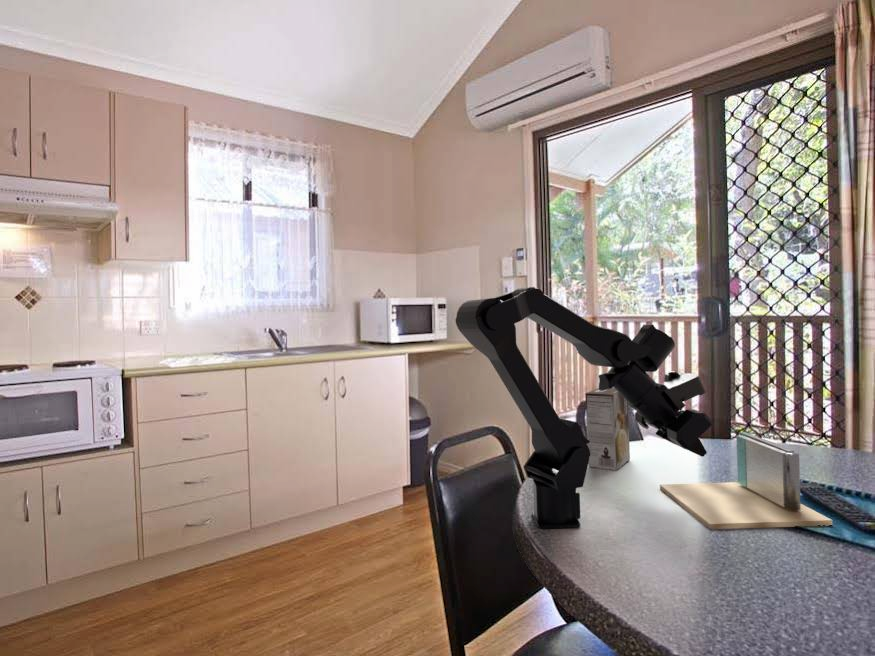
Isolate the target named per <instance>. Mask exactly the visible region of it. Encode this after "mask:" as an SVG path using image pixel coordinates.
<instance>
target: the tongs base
mask: <svg viewBox="0 0 875 656" xmlns="http://www.w3.org/2000/svg"><path fill="white" fill-rule="evenodd" d="M739 435H743V436H746V437H748V438H751V439H753V440H756V441H758V442H761V443H763V444H766V445H769V446H771V447H774V448H777V449H779V450H782V451H785V452H794V453H795V450H793V449H790V448H788V447H785V446H782V445H780V444H777V443H774V442H772V441H770V440H767V439H764V438H762V437H759V436H756V435H754V434H751V433H748V432H747V431H740V432H739ZM659 490H660V491H662V492H663V493H664V494H666V495H667V496H668V497H669V498H671V499H672V500H673V501H674V502H675V503H676V504H678V505H680V506H681V507H682V508H683V509H685V511H687V512H688V513H690V514H691V515H692V516H693V517H694V518H696V520H698V521H699V522H701V523H702V524H703V525H704V526H705V527H707V528H708V529H709V530H725V529H726V530H729V529H731V530H732V529H733V530H734V529H764V528H765V529H767V528H794V527H795V526H801V527H825V526H826V527H828V526H829V525H833V524H834V523H833V519H831V518H829V517H827V516H825V515H824V514H822V513H820V512H818V511H816V510H814V509H812V508H810V507H808V506H806V505H804V504H803V503H801V510H791V509H788V508H787V507H782V506H780V505H779V504H777V503H775V502H773V501H771V500H769V499H768V498H766V497H764V496H762V495H760V494H758V493H756V492H755V491H753V490H751V489H749V488H747V487H745V486H743V485H741V484H739V483H738V481H734V482H733V481H729V482H701V483H699V482H698V483H673V484H671V483H670V484H659ZM814 525H815V526H814ZM818 525H820V526H818ZM823 525H825V526H823ZM829 527H830V526H829ZM795 528H796V527H795Z"/></svg>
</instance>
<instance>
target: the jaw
mask: <svg viewBox="0 0 875 656" xmlns="http://www.w3.org/2000/svg"><path fill="white" fill-rule="evenodd" d="M736 463H737V465H736V466H737V467H736V468H737V482H738V483H739V484H741V485H743V486H745V487H747V488H749V489H751V490H753V491H755V492H756V493H758V494H760V495H762V496H764V497H766V498H768V499H769V500H771V501H773V502H775V503H777V504H779V505H780V506H782V507H787V508H788V509H791V510H801V504H802V503H801V477H800V476H801V475H800V454H799V453H798V452H795V451H794V452H785V451H782V450H779V449H777V448H774V447H771V446H769V445H766V444H763V443H761V442H758V441H756V440H753V439H751V438H748V437H746V436H743V435H740V434H739V435H736Z"/></svg>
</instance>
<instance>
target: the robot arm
mask: <svg viewBox="0 0 875 656" xmlns="http://www.w3.org/2000/svg"><path fill="white" fill-rule="evenodd" d="M526 318H528V319H529V320H531V321H533V322H534V323H535V324H538V325H540V326H541V327H543V328H544V329H546V330H548V331H550V332H552V333H553V334H555V335H556V336H558V337H560V338H561V339H563V340H564V341H567V342H568V343H571V345H572V346H573V347H575V349H576V351H577V353H578V354H579V356H581V357H582V358H583V359H584V360H585V361H586V362H588V364H590V365H591V366H595V367H596V366H597V367H607V368H610V369H609V370H608V371H607V372H605V373H604V372H603V373H600V374H599V375H598V379H599V381H598V388H599V390H600V391H602V390H607V389H611V388H615V389H616V390H617V391H618V392H619V393H620V394H621V395H622V396H623V397H624V398H625V399H626V400H627V401H628V407H630V408H631V409H632V410H635V413H634V421H636V422H637V424H639V426H641V427H642V428H643V429H646V430H648V429H649V428H650V426H651V427H653V428H655V429H656V432H655V435H656V436H658V437H660V438H662V439H664V440H666V441H667V442H669V443H671V444H673V445H675V446H678V447H680V448H681V449H684V450H687V451H688V452H691V453H693V454H695V455H697V456H700V457H704V456H706V455H707V453H708V452H707V450H706V448H705V446H704V445H703V443H702V441H701V439H700V438H701V436H702V435H703V434H704V433H706V432H707V430H709V429H710V428H711V426H713V423H714V421H713V419H711V418H710V416H708V414H707V413H705V412H703V411H699V410H697V409H692V408H689V409H685V410H683V409H684V408H685V407H686V406H687V405H686V404H685V402H686V401H689V400H691V399H693V398H695V397H697V396H703V395H705V394H706V389H705V387H704V384H703V383H702V380H701V378H700V376H699V374H695V373H690V372H689V373H684V372H683V373H681V374H679V373H678V372H677V371H674V370H671V371H668V372H666V373H664V378H663V379H664V381H663V382H662V383H658V382H656V381H655V380H654V379H653V378H652V376H650V375H649V374H648V372H649V373H653V372H657V371H658V370H659V368H661V366H662V364H663V363H664V362H665V361H666V359H667V358H668V356H670V354H671V352H673V350H674V349H675V347H676V343H675V341H674V339H673V337H671V336H669V335H668V334H667V333H666V332H664V331H662V330H660V329H658V328H656V327H655V325H654V324H643V325H642V326H641V328H640V329H639V330H638V333H637V334H636V335H635V336H634V337H633V339H631V337H630V336H629V335H628V334H626V333H624V332H620V331H617V330H616V329H612V328H608V327H604V326H600V325H596V324H593V323H592V322H590V321H588V320H586V319H585V318H584V317H582V316H581V315H578V313H575V312H573V311H572V310H570V309H569V308H567V307H566V306H564V305H562V304H561V303H560V302H558V301H556V300H554V299H553V298H551V297H550V296H549V295H546V294H545V293H544V291H542V290H541V289H540V288H538V287H535V286H530V287H524V288H523V287H521V288H516V289H515V290H513V291H511V292H509V293H506V294H503V295H500V296H495V297H491V298H480V299H471V300H467V301H465V302H463V303H462V304H461V305H460V307H459V308H458V310H457V312H456V318H455V319H454V320H455V324H456V327H457V329H458V331H459V332H460V333H461V335H462V336H463V337H464V338H465V339H466V340H467V341H468V343H469V344H470V345H472V347H474V348H476V349H475V350H478V351H479V352H480V353H481V354H483V355H484V356H485V357H486V358H487V359H488V361H489V362H490V363H491V365H492V366H493V368H494V370H495V372H496V373H497V374H498V376H499V378H500V380H501V382H502V383H503V385H504V386H505V388H506V389H507V391H508V393H509V395H510V396H511V398H512V400H513V401H514V403H515V405H516V406H517V408H518V410H519V411H520V412H521V415H522V416H523V418H524V419H525V421H526V422H527V424H528V426H529V428H530V429H531V444H532V447H533V449H534V451H533V452H532V454H531V455H530V457H529V458H528V459H527V461H526V462H525V464H524V465H523V470H524V474H525V475H526V478H528V479H532V488H533V491H532V492H533V509H532V510H531V514H532V516H533V518H534V521H535V523H536V525H537V528H539V529H559V528H561V529H562V528H565V529H566V528H580V527H581V522H580V521H579V519H581V500H580V499H581V498H580V497H581V496H580V492H579V491H578V490H577V489H580V488H583V487H584V484H585V479H586V475H587V470H588V467H589V466H588V463H589V457H590V455H591V454H590V449H589V447H588V444H587V443H590V441H589V440H588V439H587V437H586V436H585V434H584V433H583V430H582V427H581V426H580V424H579V423H578V422H577V421H573V420H569V419H565V418H561V417H560V416H559V415H558V413H557V411H556V410H555V408H554V406H553V404H552V403H551V401H550V400H549V398H548V397H547V395H546V392H545V391H544V389H543V388H542V386H541V385H540V383H539V380H538V379H537V377H536V375H534V373H533V371H532V369H531V367H530V366H529V363H528V362H527V361H526V359H525V358H524V356H523V354H522V352H521V350H520V349H519V347H518V344H517V328H516V325H515V324H517V323H519V322H521V321H523V320H525V319H526ZM554 470H555V471H554Z"/></svg>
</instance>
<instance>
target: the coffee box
mask: <svg viewBox="0 0 875 656" xmlns="http://www.w3.org/2000/svg"><path fill="white" fill-rule="evenodd" d="M628 403H629V402H628V401H627V400H626V399H625V398H624V397H623V396H622V395H621V394H620V393H619V392H618V391H617V390H616V389H615V388H614V387H613V388H611V389H607V390H602V391H600V390H599V387H598V388H596V389H593V390H590V391H588V392H586V393H585V414H586V419H585V420H586V439H588V440H589V441H590V443H587V445H588V447H589V449H590V454H591V455H590V457H589V463H588V467H590V468H597V469H602V468H603V470H604V469H605V470H609V469H612V471H618V470H619V469H621V468H622V467H623V466H624V465H625V464H626V462H627V461H628V462H629V461H630V460H631V453H630V449H631V448H630V429H629V427H630V426H629V405H628ZM628 462H627V463H628ZM622 465H623V466H622ZM621 466H622V467H621ZM618 468H619V469H618ZM617 469H618V470H617Z"/></svg>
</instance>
